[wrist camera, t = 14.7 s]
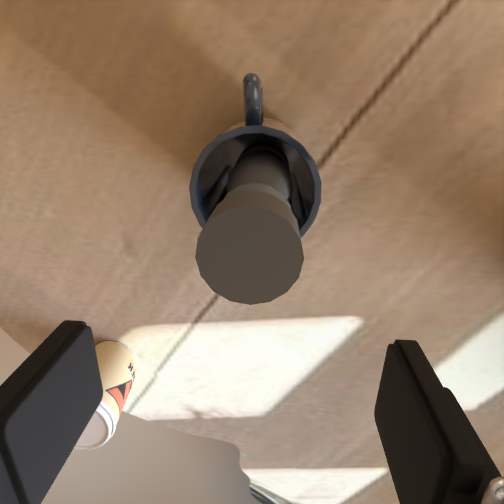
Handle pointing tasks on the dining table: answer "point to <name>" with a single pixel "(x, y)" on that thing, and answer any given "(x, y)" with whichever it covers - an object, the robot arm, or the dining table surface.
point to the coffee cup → (109, 392)
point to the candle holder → (253, 231)
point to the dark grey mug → (239, 138)
